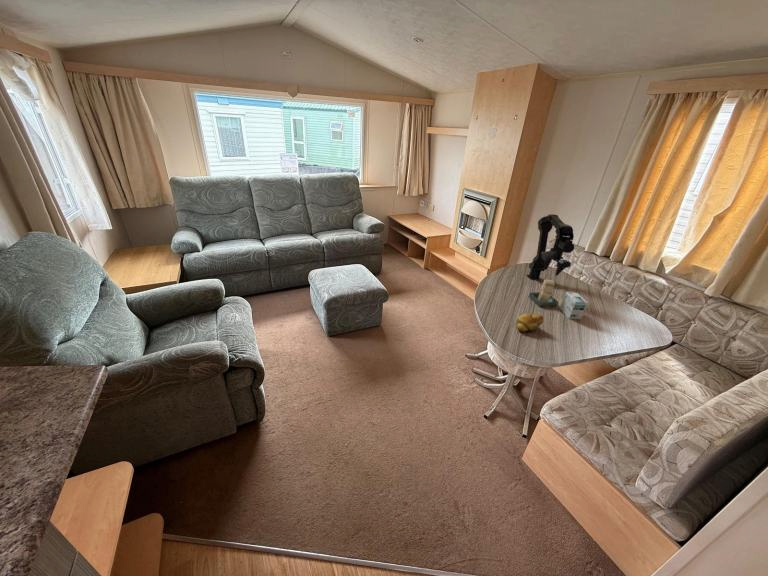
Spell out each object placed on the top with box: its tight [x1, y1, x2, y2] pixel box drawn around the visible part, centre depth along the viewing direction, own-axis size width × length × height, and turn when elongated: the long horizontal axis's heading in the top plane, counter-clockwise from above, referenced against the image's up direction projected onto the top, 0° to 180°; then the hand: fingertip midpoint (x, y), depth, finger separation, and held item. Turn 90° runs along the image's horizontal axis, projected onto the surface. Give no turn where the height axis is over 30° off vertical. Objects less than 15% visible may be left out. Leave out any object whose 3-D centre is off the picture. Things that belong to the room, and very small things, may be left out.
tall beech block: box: [538, 279, 556, 302], centre depth 175 cm, size 4×4×12 cm
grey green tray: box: [528, 291, 559, 308], centre depth 178 cm, size 11×11×3 cm
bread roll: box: [516, 313, 544, 333], centre depth 152 cm, size 13×10×8 cm
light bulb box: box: [559, 291, 589, 320], centre depth 166 cm, size 11×7×11 cm, turn 179°
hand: (550, 272), depth 184 cm, fingers open, 9 cm apart
